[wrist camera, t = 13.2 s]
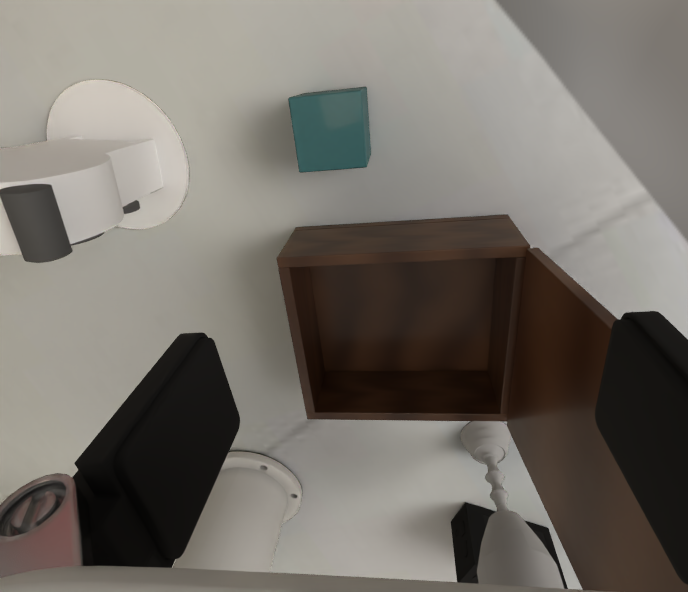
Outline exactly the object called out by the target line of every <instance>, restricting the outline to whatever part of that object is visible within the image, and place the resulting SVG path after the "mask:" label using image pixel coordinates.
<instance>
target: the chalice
mask: <svg viewBox="0 0 688 592" xmlns="http://www.w3.org/2000/svg"><path fill="white" fill-rule="evenodd" d="M460 439H461V442H462V444H463V445H464V446H465V448H466V449H467V451H468V452H469V453H470V455H471V456H472V457H473V459H475V460H476V461H478V462H480V463H482V464H485V465H487V466H488V473H487V474H486V476H485V479H486V480H487V482H489V483H490V484H491V485H492V492H491V493H490V498H491V499H492V500H493V501H494V502H495V505H496V507H497V512H495V513H493V514H492V515H491V516H490V517H489V519H488V523H487V526H486V529H485V532H484V536H483V539H482V542H481V548H480V555H479V561H478V568H477V575H478V582H479V584H492V585H509V586H526V587H542V588H559V589H564V586H563V583H562V579H561V576H560V573H559V570H558V567H557V564H556V563H555V561H554V560H553V558H552V557H551V555H550V554H549V552H548V551H547V549H546V548H545V546H544V545H543V543H542V542H541V540H540V539H539V538H538V537H537V535H536V534H535V533H534V532H533V531H532V530H531V528H530V527H529V526H528V525H527V524H526V522H525V521H524V520H523V519H522V518H521V516H520V515H519V514H517V513H516V512H513V511H509V510H508V508H507V498H508V493H507V492H506V491H505V490H504V489H503V487H502V481H503V480H504V478H505V476H504V474H503V473H502V472H500V471H499V469H498V467H497V463H499V462H501V461H502V460H503V459H504V458H505V457H506V455H507V454H508V448H509V444H510V440H511V434H510V432H509V430H508V427H507V425H505V424H504V423H502V422H501V421H473V422H470V423H469V424H467V425H466V426H465V427H464V428H463V430H462V432H461V436H460Z"/></svg>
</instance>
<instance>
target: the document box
mask: <svg viewBox="0 0 688 592" xmlns="http://www.w3.org/2000/svg"><path fill="white" fill-rule="evenodd" d="M527 249H530V245H529V244H528V242H527V241H526V239H525V238H524V237H523V235H522V234H521V233H520V231H519V230H518V228H517V227H516V226H515V224H514V223H513V221H512V220H511V219H510V217H509V216H508V215H494V216H477V217H460V218H443V219H427V220H410V221H393V222H376V223H359V224H343V225H326V226H309V227H296V228H295V230H294V232H293V233H292V235H291V236H290V238H289V239H288V241H287V242H286V244H285V246H284V247H283V249H282V250H281V252H280V253H279V255H278V257H277V263H278V267H279V268H278V269H279V274H280V280H281V285H282V290H283V295H284V300H285V305H286V311H287V316H288V321H289V326H290V331H291V337H292V342H293V347H294V352H295V357H296V363H297V368H298V373H299V378H300V383H301V388H302V394H303V399H304V404H305V409H306V414H307V419H338V420H425V421H507V420H508V412H509V403H510V394H511V385H512V377H513V368H514V359H515V350H516V342H517V333H518V324H519V315H520V307H521V298H522V289H523V280H524V272H525V263H526V254H527Z"/></svg>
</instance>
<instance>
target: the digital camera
mask: <svg viewBox="0 0 688 592" xmlns="http://www.w3.org/2000/svg"><path fill="white" fill-rule="evenodd" d="M493 513H495V512H494V511H491V510H488V509H485V508H482V507H478V506H475V505H472V504H469V503H465V504H464V506H463V507H462V508H461V510H460V511H459V512H458V513H457V515H456V516H455V517H454V519H453V520H452V521H451V528H452V538H453V547H454V556H455V566H456V574H457V582H458V583H475V584H479V582H478V575H477V568H478V561H479V555H480V548H481V542H482V539H483V536H484V532H485V529H486V526H487V523H488V519H489V517H490V516H491V515H492V514H493ZM525 522H526V524H527V525H528V526H529V527H530V528H531V530H532V531H533V532H534V533H535V534H536V535H537V537H538V538H539V539H540V540H541V542H542V543H543V545H544V546H545V548H546V549H547V551H548V552H549V554H550V555H551V557H552V558H553V560H554V561H555V563H556V564H557V567H558V570H559V573H560V576H561V579H562V583H563V586H564V589H568V588H567V585H566V582H565V579H564V575H563V572H562V569H561V566H560V563H559V560H558V557H557V554H556V551H555V548H554V545H553V542H552V539H551V535H550V532H549V529H548V528H546V527H543V526H539V525H536V524H533V523H530V522H527V521H525Z"/></svg>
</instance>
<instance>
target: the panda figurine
mask: <svg viewBox="0 0 688 592" xmlns="http://www.w3.org/2000/svg"><path fill="white" fill-rule="evenodd" d="M188 185H189V164H188V159H187V154H186V151H185V148H184V145H183V142H182V140H181V138H180V136H179V134H178V132H177V130H176V128H175V127H174V125H173V124H172V122H171V121H170V119H169V118H168V117H167V116H166V114H165V113H164V112H163V111H162V110H161V109H160V108H159V107H158V106H157V105H156V104H155V103H154V102H153V101H152V100H150V99H149V98H148V97H146V96H145V95H144V94H142V93H141V92H139V91H137V90H136V89H134V88H132V87H130V86H127V85H125V84H122V83H119V82H115V81H110V80H87V81H82V82H79V83H76V84H74V85H72V86H70V87H69V88H67V89H66V90H65V91H64V92H62V93H61V94H60V96H59V97H58V98H57V99H56V101H55V102H54V104H53V106H52V108H51V111H50V114H49V117H48V122H47V141H44V142H39V143H33V144H28V145H22V146H17V147H6V148H0V255H15V254H22V255H23V258H24V260H25V261H27V262H36V263H41V262H49V261H54V260H57V259H60V258H62V257H65V256H67V255H68V254H70V253H71V252H72V248H71V245H76V244H80V243H83V242H87V241H90V240H92V239H95V238H97V237H99V236H101V235H102V234H104V232H105V231H107V230H109V229H111V228H113V227H115V226H119V227H122V228H128V229H147V228H152V227H155V226H158V225H160V224H162V223H164V222H165V221H167V220H168V219H170V218H171V217H172V216H173V215H174V214H175V213H176V212H177V211H178V210H179V208H180V207H181V205H182V204H183V202H184V200H185V197H186V194H187V191H188Z"/></svg>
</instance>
